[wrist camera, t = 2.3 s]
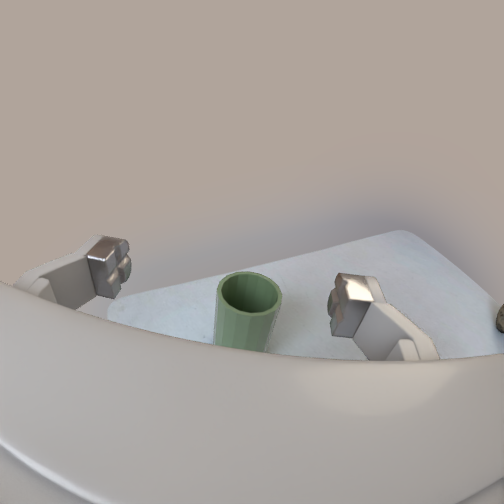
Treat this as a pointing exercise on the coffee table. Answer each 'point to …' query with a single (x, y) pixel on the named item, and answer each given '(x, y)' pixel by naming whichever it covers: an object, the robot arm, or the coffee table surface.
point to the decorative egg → (500, 319)
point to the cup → (246, 311)
